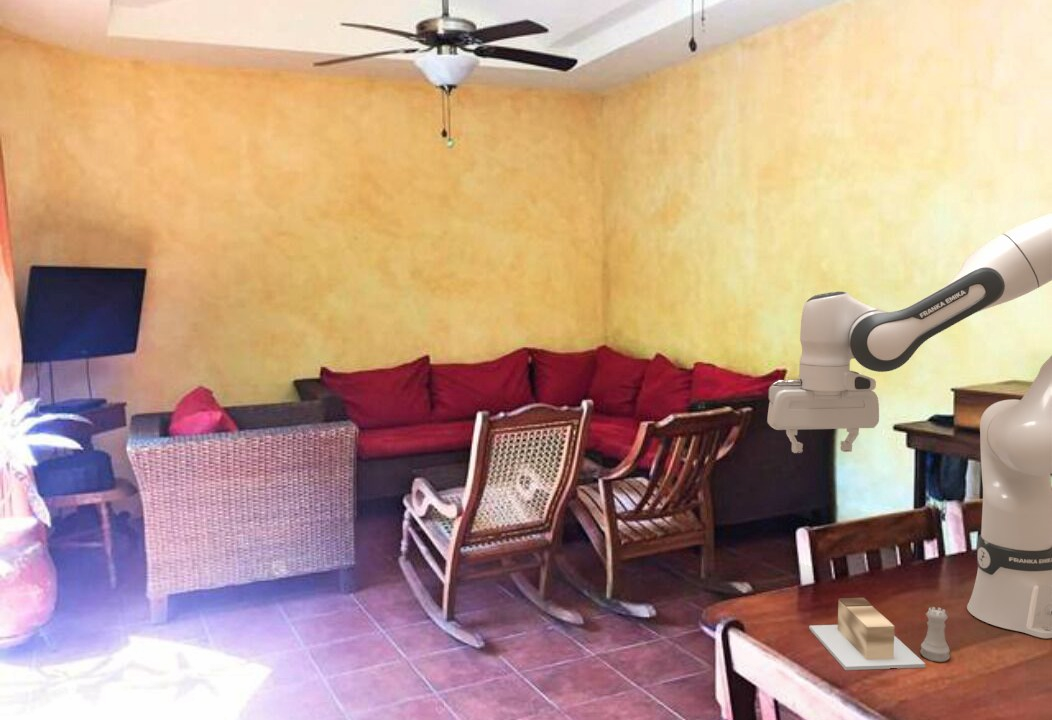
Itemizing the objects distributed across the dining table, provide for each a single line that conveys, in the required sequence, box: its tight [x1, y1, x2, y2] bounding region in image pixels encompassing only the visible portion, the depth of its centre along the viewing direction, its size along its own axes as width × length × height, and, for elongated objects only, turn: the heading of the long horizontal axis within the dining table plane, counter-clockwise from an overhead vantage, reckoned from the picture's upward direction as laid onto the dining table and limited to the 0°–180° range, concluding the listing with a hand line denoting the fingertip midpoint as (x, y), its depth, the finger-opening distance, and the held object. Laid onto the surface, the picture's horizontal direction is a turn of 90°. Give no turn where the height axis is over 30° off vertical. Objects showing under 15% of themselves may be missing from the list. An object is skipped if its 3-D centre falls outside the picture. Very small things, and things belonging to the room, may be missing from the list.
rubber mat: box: [808, 624, 926, 671], centre depth 139 cm, size 13×15×1 cm
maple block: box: [837, 597, 896, 660], centre depth 138 cm, size 11×4×6 cm, turn 2°
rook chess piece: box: [919, 606, 951, 663], centre depth 135 cm, size 4×4×8 cm
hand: (821, 451), depth 155 cm, fingers open, 8 cm apart
